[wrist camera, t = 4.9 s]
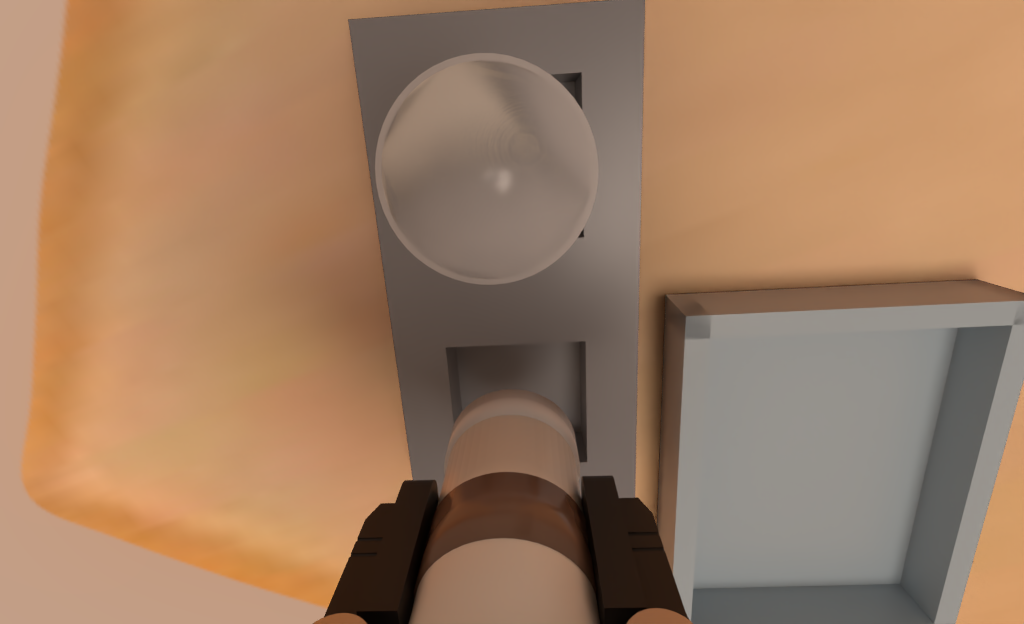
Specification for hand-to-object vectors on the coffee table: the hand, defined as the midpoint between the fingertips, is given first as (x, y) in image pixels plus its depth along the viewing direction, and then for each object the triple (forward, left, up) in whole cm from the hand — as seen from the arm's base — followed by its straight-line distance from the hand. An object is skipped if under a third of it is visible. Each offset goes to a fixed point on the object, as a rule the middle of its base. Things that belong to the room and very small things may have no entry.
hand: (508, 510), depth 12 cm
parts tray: (+4, +11, -8) cm, 14 cm away
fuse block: (-4, 0, -8) cm, 9 cm away
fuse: (-8, 0, -7) cm, 11 cm away
